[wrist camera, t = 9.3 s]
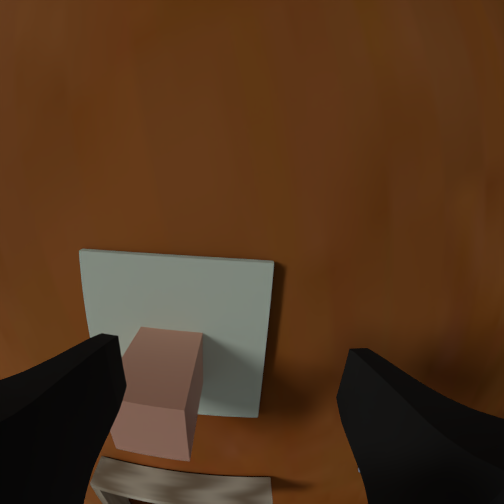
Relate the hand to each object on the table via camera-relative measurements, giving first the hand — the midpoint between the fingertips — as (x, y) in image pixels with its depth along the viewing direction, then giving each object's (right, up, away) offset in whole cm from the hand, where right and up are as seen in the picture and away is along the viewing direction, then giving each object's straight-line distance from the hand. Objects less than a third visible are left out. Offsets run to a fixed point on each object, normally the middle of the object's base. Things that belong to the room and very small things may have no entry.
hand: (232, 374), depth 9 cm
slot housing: (-6, -23, +16) cm, 29 cm away
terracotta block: (-5, -3, +10) cm, 11 cm away
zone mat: (-5, -2, +10) cm, 11 cm away
